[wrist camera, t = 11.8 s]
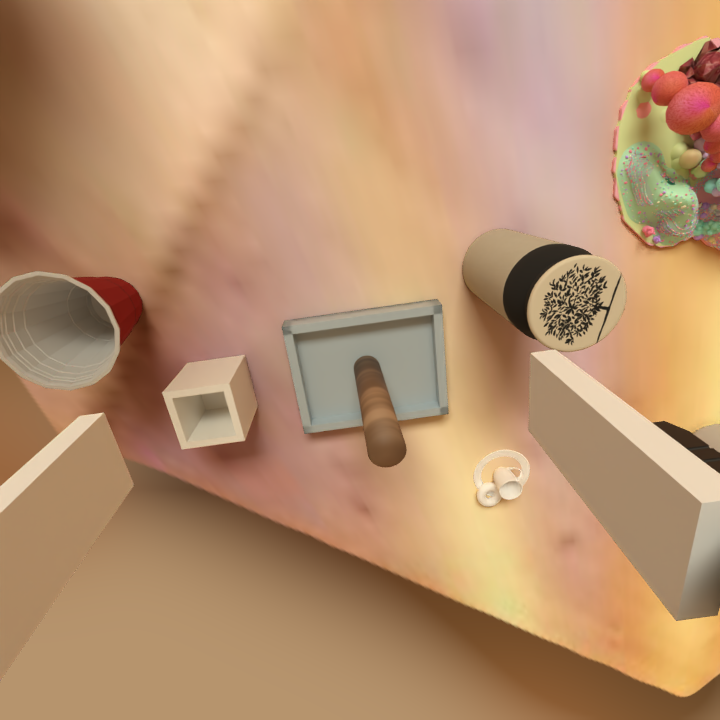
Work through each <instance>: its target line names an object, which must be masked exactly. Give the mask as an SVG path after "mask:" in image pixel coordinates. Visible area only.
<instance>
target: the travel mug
mask: <svg viewBox="0 0 720 720" xmlns="http://www.w3.org/2000/svg"><path fill="white" fill-rule="evenodd" d="M463 277H464V280H465V283H466V285H467V286H468V288H469V289H470V290H471V291H472V292H473V293H474V294H475V295H476V296H478V297H479V298H480V299H481V300H483V301H484V302H485V303H486V304H488V305H489V306H490V307H491V308H493V309H494V310H495V311H496V312H498V313H499V314H500V315H501V316H503V317H504V318H505V319H506V320H508V321H509V322H510V323H511V324H513V325H514V326H515V327H516V328H518V329H519V330H520V331H521V332H523V333H524V334H525V335H527V336H529V337H531V338H533V339H536V340H538V341H539V342H540V343H541V344H543V345H544V346H546V347H548V348H550V349H553V350H554V349H555V350H557V351H562V352H573V351H579V350H582V349H586V348H588V347H590V346H592V345H594V344H596V343H598V342H599V341H601V340H602V339H603V338H605V337H606V336H607V335H608V334H609V333H610V332H611V331H612V330H613V329H614V327H615V326H616V325H617V323H618V321H619V320H620V318H621V316H622V314H623V311H624V308H625V304H626V298H627V290H626V284H625V280H624V278H623V276H622V274H621V272H620V271H619V269H618V268H617V267H616V266H615V265H614V264H613V263H611V262H610V261H608V260H607V259H604V258H602V257H599V256H594V255H592V254H591V253H589V252H588V251H586V250H584V249H581V248H578V247H574V246H571V245H567V244H563V243H559V242H555V241H551V240H547V239H544V238H540V237H536V236H532V235H528V234H524V233H520V232H517V231H513V230H509V229H495V230H491V231H489V232H486V233H484V234H483V235H481V236H480V237H478V238H477V239H476V240H475V241H474V242H473V243H472V244H471V246H470V247H469V249H468V250H467V252H466V254H465V257H464V261H463Z"/></svg>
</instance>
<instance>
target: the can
mask: <svg viewBox="0 0 720 720" xmlns="http://www.w3.org/2000/svg"><path fill="white" fill-rule="evenodd" d="M693 434H694V435H695V436H697V437H698V438H700V439H701V440H702V441H704V442H705V443H707V444H708V445H709V447H710V448H714V449H715V450H717V451H718V452H719V453H720V424H714V425H710V426H706V427H703V428H700V429H698V430H696V431H695V432H694V433H693Z"/></svg>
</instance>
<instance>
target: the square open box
mask: <svg viewBox="0 0 720 720" xmlns="http://www.w3.org/2000/svg"><path fill="white" fill-rule="evenodd" d="M162 394H163V397H164V400H165V403H166V406H167V408H168V411H169V414H170V417H171V420H172V423H173V426H174V429H175V431H176V434H177V437H178V440H179V443H180V446H181V449H189V448H196V447H203V446H210V445H218V444H225V443H232V442H239V441H245V440H246V437H247V434H248V431H249V429H250V426H251V423H252V421H253V418H254V415H255V412H256V410H257V407H258V404H257V400H256V396H255V392H254V388H253V384H252V380H251V376H250V373H249V369H248V365H247V361H246V357H245V355H240V356H233V357H225V358H218V359H211V360H204V361H197V362H190V363H187V364H186V365H185V366H184V368H183V369H182V370H181V371H180V372H179V373H178V375H177V376H176V377H175V378H174V379H173V380H172V382H171V383H170V384H169V385H168V386H167V387H166V389H165V390H164V391H163V392H162Z"/></svg>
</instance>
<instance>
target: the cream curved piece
mask: <svg viewBox="0 0 720 720" xmlns="http://www.w3.org/2000/svg"><path fill="white" fill-rule="evenodd" d="M502 456H507V457H512V458H514V459H516V460H517V461H518V462H519V463H520V465H521V467H522V470H521V469H519V468H516V467H509V468H506V467H499V468H497V469H496V470H495V471H494V473H493V479H494V482H495V483H493V482H487V483H484V484H483V482H482V479H481V473H482V470H483V468H484V466H485V465H486V464H487V463H488V462H489V461H491V460H493V459H495V458H497V457H502ZM512 469H517V470H519V471H520V476H519V477H516V476H515V475H514V474H513V473H512V471H511V470H512ZM529 474H530V465H529V462H528V460H527V459H526V458H525V456H523V455H522V454H521V453H519V452H517V451H513V450H499V451H495V452H492V453H490V454H488V455H487V456H485V457H484V458H483V459H482V460H481V461H480V462H479V463H478V464H477V466H476V468H475V470H474V475H473V479H474V483H475V485H476V487H477V489H478V491H477V499H478V502H479V503H480V504H481V505H483V506H486V507H491V506H494V505H496V504H497V503H499V502H500V500H501V498H504V499H507V500H511V499H515V498H517V497H518V496H519V495H520V494H521V493H522V489H523V488H522V486H523V485H524V484H525V483H526V481H527V479H528V477H529ZM486 495H488V496H492V497H490V498H487V497H486Z"/></svg>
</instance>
